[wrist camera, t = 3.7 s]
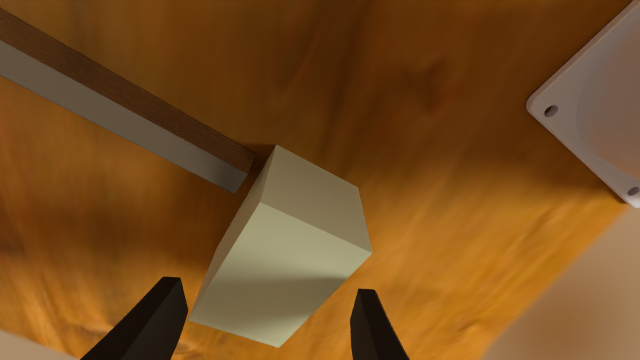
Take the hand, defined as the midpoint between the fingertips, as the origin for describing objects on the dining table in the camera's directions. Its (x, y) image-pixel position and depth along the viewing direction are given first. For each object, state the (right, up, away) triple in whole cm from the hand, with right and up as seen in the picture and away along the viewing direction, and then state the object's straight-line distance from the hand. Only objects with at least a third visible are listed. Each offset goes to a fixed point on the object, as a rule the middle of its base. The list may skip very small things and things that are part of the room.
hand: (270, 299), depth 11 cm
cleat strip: (-8, +9, 0) cm, 12 cm away
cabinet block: (0, +3, +4) cm, 5 cm away
